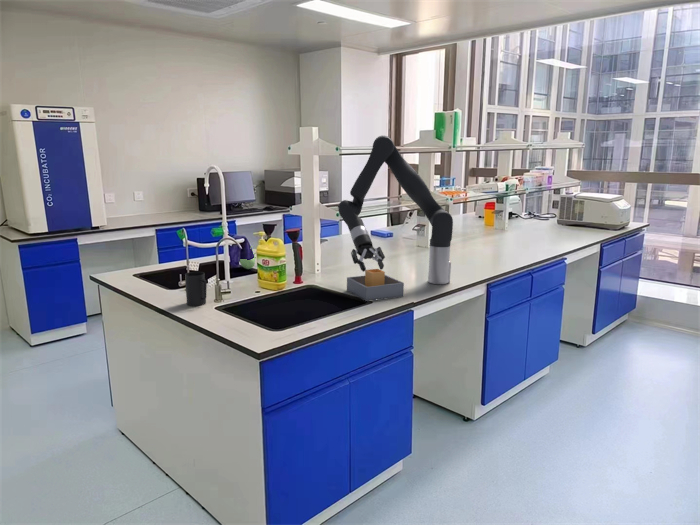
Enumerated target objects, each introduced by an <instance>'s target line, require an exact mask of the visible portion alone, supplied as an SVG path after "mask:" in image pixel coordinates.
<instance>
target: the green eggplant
mask: <svg viewBox="0 0 700 525" xmlns="http://www.w3.org/2000/svg"><path fill="white" fill-rule="evenodd" d="M250 246H251V247H250V248H252V247H254V246H253V245H250ZM254 250H255V248H253V249H252V251H253V254H254V258H253V259H251V260H247V259H240V261H239V264H240V265H241V266H242V268H244V269H246V270H251V269H253V268H254V266H255V264H256V259H257V257H256V252H254Z"/></svg>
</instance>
